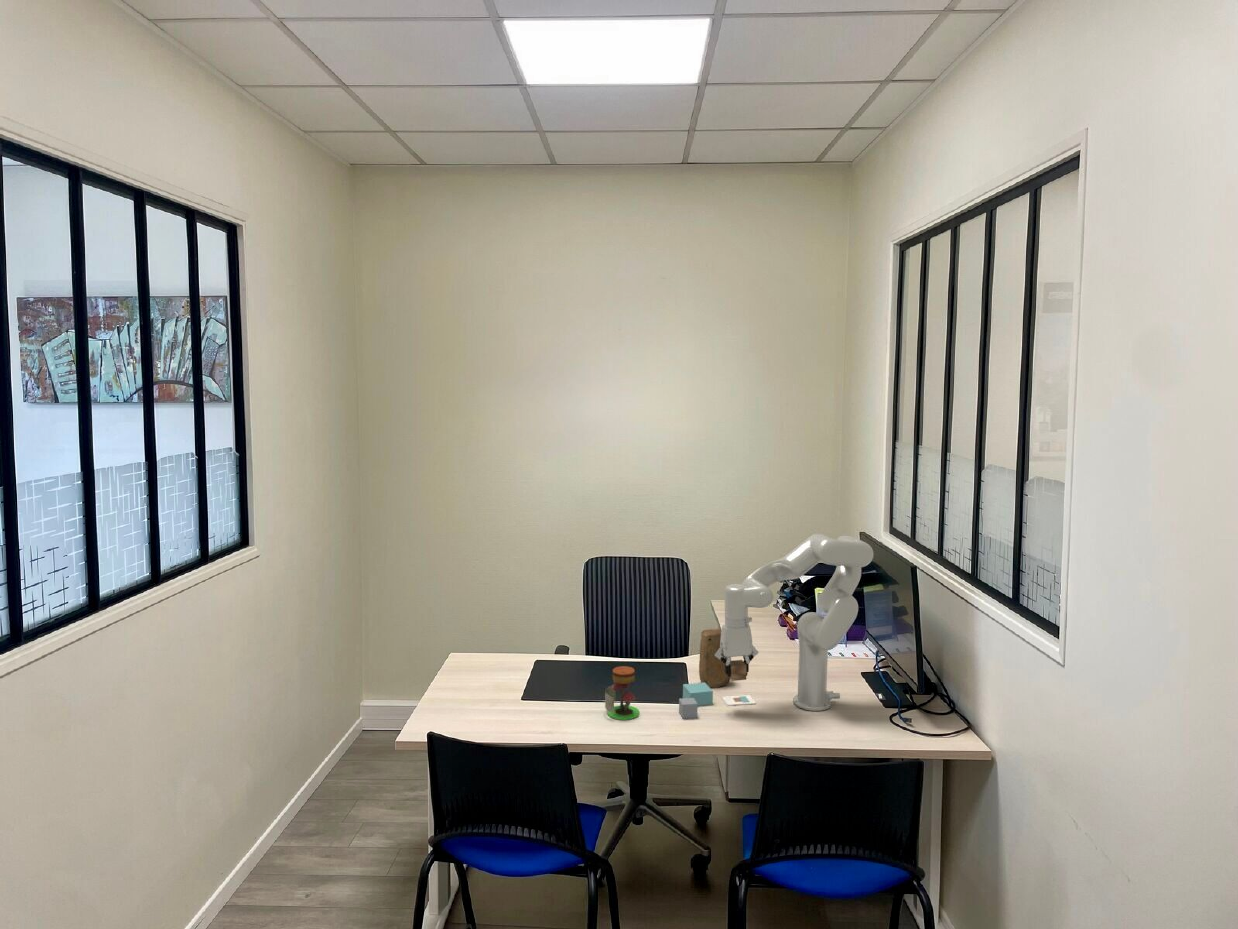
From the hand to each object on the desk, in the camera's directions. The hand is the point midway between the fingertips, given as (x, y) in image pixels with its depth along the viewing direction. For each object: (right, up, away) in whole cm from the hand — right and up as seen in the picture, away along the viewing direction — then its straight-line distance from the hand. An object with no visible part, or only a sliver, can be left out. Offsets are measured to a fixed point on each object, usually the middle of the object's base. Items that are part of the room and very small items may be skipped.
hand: (736, 674), depth 276 cm
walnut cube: (0, -1, 0) cm, 1 cm away
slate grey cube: (-16, -13, -2) cm, 21 cm away
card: (+2, -12, +10) cm, 15 cm away
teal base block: (-12, -12, +10) cm, 19 cm away
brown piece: (-4, -10, +25) cm, 27 cm away
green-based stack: (-38, -13, 0) cm, 40 cm away
